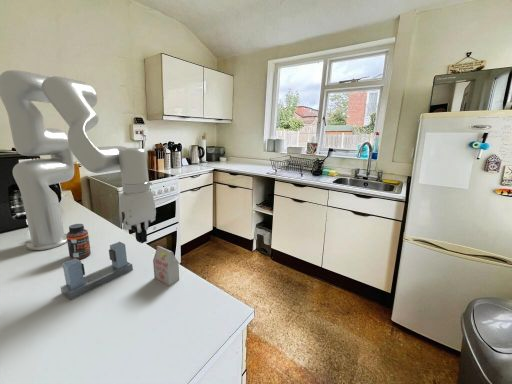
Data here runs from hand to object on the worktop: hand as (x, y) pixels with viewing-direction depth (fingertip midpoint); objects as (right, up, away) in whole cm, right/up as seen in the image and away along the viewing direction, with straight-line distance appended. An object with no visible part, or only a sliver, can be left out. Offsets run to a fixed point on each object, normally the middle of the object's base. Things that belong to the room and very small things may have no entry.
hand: (141, 241), depth 79 cm
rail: (-8, -10, -9) cm, 15 cm away
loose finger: (-5, -6, -5) cm, 10 cm away
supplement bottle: (-23, -6, +4) cm, 24 cm away
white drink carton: (+11, -10, -7) cm, 17 cm away
